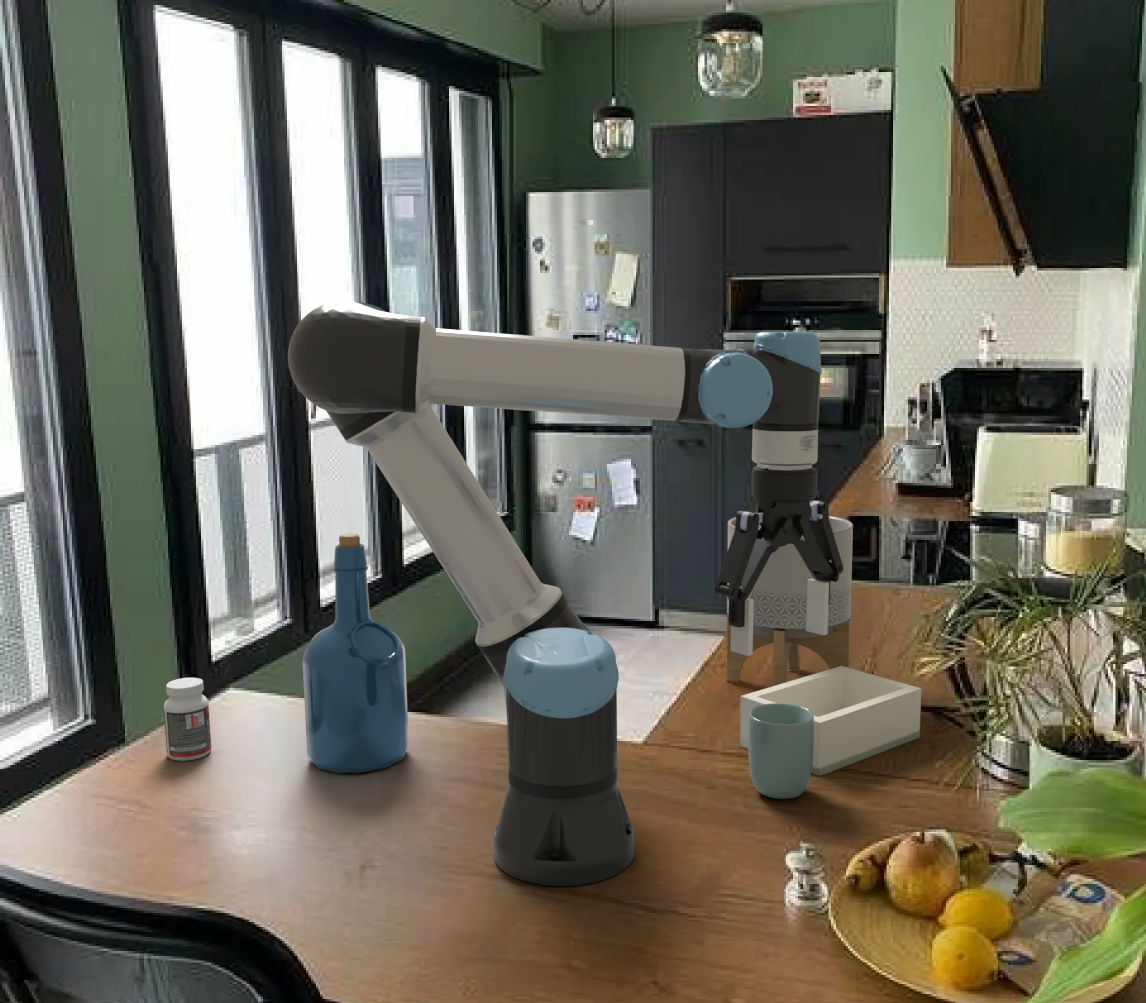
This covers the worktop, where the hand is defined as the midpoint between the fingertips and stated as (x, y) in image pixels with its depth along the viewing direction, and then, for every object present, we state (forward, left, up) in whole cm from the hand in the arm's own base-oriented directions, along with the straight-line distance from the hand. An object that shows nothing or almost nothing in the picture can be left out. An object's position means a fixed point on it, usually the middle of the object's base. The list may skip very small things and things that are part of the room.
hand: (780, 642), depth 135 cm
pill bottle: (-51, +58, -19) cm, 80 cm away
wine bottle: (-34, +42, -19) cm, 58 cm away
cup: (0, -1, -19) cm, 19 cm away
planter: (+32, +26, -19) cm, 45 cm away
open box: (+18, +6, -19) cm, 26 cm away
